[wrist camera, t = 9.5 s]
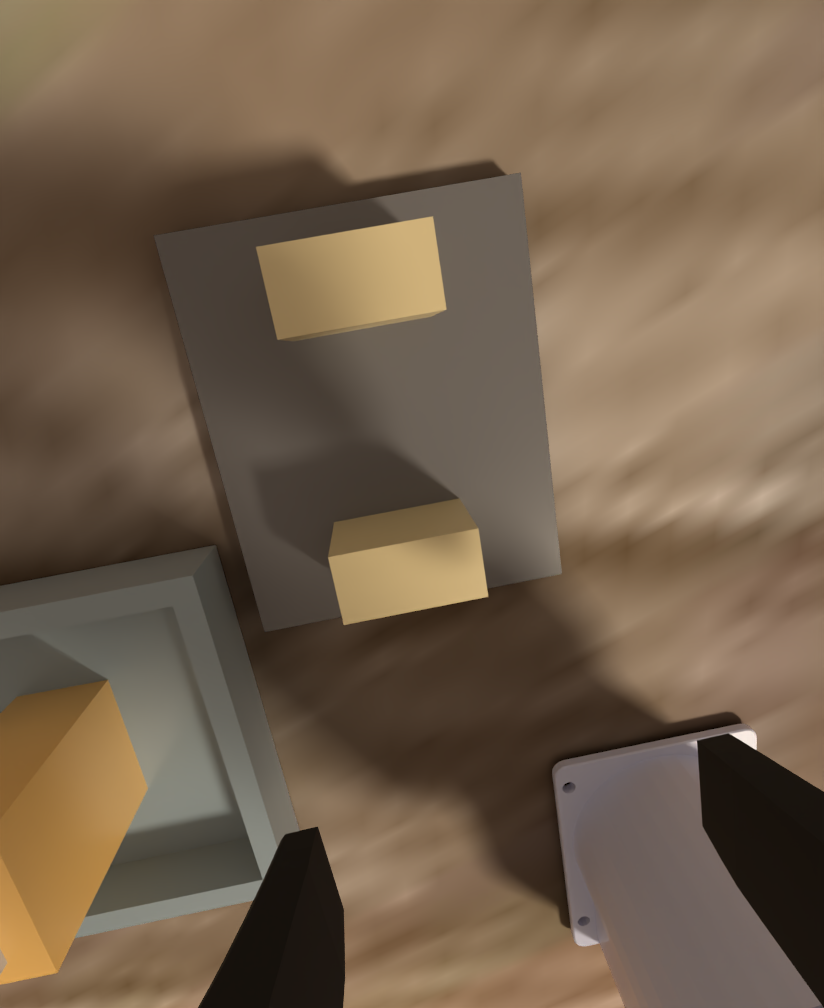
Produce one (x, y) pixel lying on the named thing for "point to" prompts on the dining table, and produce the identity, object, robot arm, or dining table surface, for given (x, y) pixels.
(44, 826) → the block
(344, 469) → the panel
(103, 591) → the parts tray
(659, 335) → the dining table surface
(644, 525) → the dining table surface
